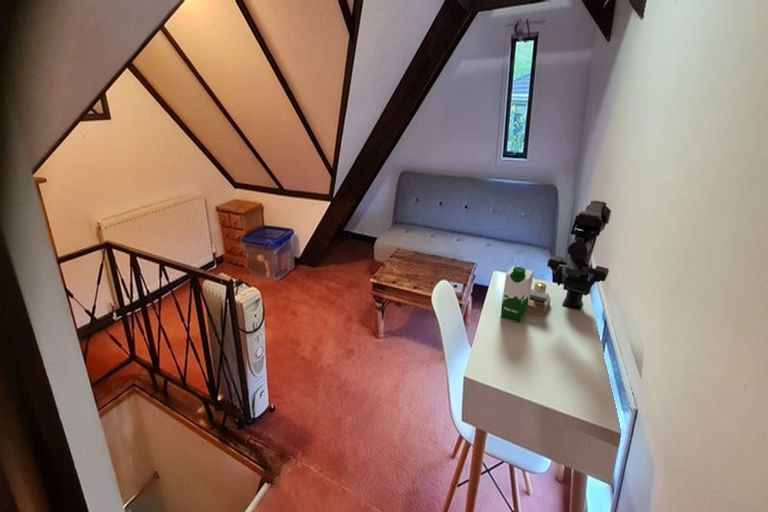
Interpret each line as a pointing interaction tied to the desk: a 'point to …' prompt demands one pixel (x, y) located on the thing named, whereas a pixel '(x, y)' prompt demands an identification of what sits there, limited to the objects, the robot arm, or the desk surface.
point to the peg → (541, 288)
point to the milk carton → (516, 293)
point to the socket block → (537, 306)
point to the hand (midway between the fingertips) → (572, 289)
